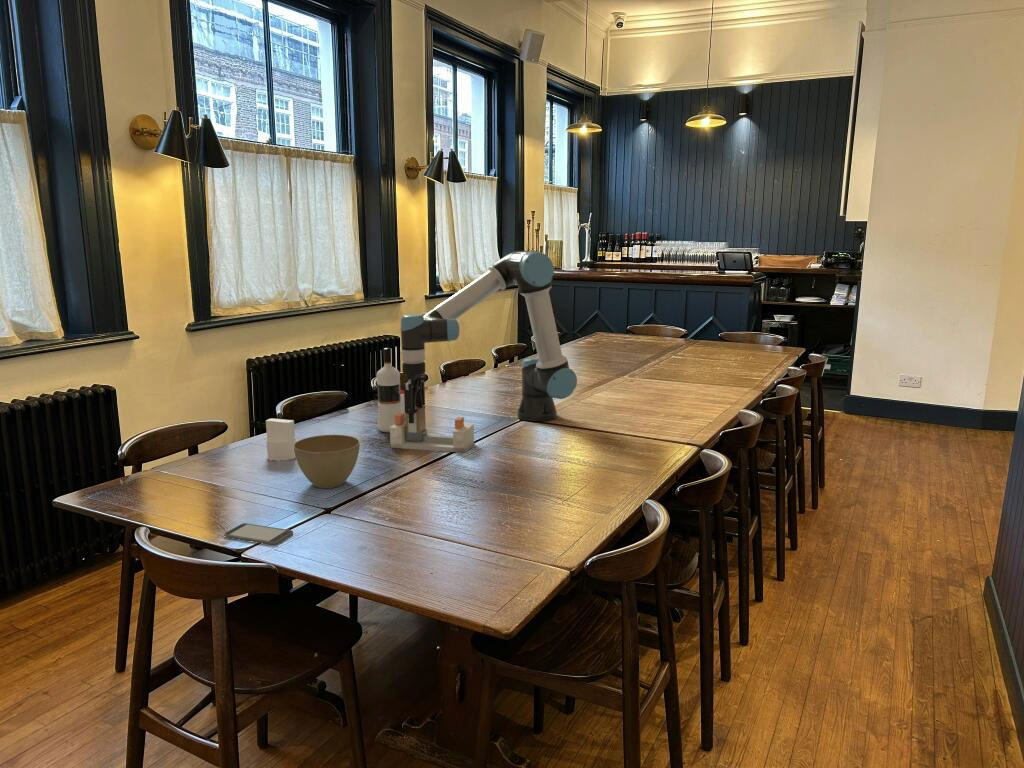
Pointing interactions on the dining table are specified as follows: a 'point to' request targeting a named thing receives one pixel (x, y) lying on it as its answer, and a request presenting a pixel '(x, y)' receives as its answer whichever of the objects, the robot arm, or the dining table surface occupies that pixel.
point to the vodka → (388, 393)
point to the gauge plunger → (399, 418)
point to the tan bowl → (327, 458)
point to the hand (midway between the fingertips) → (415, 429)
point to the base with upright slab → (280, 439)
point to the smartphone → (259, 534)
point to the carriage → (420, 425)
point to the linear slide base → (436, 438)
